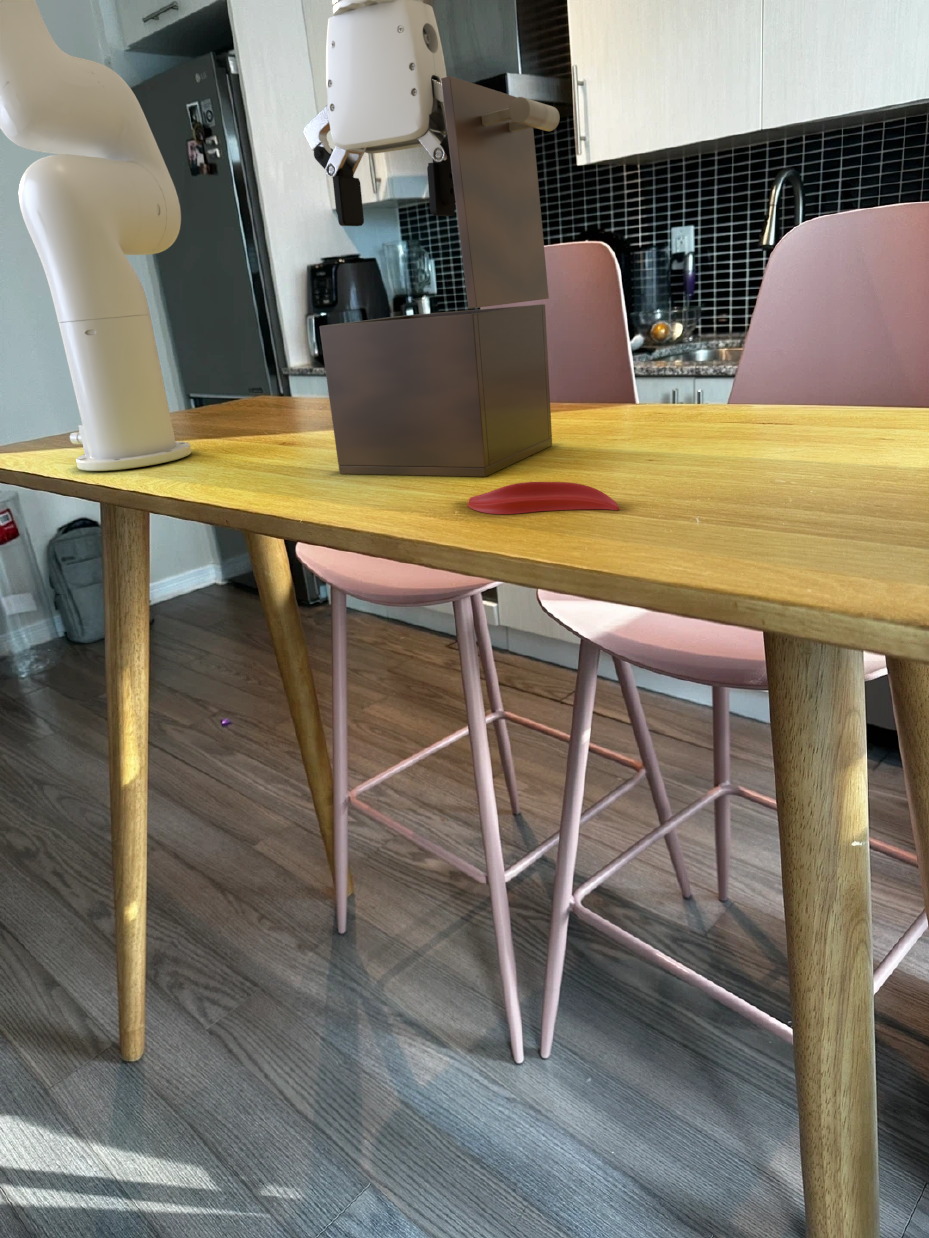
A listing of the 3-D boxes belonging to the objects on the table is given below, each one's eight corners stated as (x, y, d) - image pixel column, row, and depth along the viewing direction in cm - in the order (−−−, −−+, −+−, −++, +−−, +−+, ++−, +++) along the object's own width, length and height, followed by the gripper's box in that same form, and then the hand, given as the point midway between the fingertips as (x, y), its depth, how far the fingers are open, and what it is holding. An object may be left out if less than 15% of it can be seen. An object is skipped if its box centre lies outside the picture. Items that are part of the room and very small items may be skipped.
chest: (339, 473, 83) (319, 326, 79) (419, 445, 95) (405, 315, 91) (485, 477, 76) (473, 314, 71) (552, 445, 88) (545, 304, 83)
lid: (440, 78, 66) (501, 61, 64) (522, 103, 78) (576, 89, 75) (468, 309, 71) (525, 300, 69) (541, 299, 83) (592, 292, 81)
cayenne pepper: (451, 510, 65) (449, 485, 65) (485, 496, 69) (483, 472, 68) (599, 521, 59) (598, 493, 58) (628, 505, 62) (627, 478, 62)
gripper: (490, -18, 72) (501, 213, 78) (320, 24, 80) (342, 230, 86) (445, -42, 66) (460, 210, 72) (266, 5, 74) (293, 229, 80)
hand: (396, 220), depth 79 cm, fingers open, 9 cm apart
